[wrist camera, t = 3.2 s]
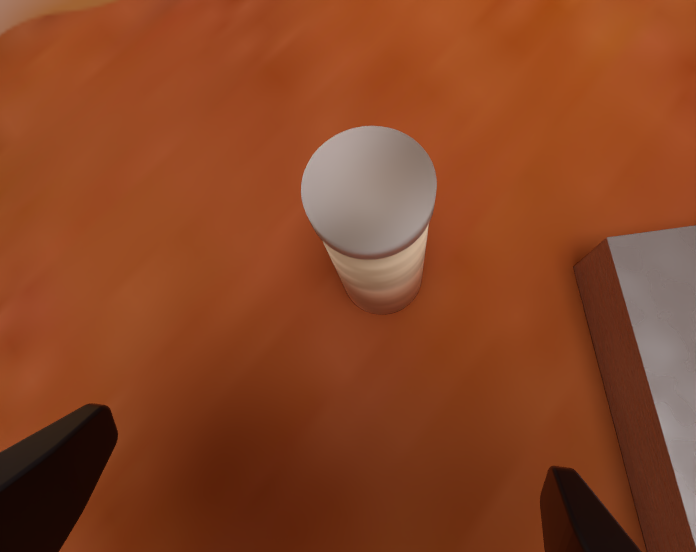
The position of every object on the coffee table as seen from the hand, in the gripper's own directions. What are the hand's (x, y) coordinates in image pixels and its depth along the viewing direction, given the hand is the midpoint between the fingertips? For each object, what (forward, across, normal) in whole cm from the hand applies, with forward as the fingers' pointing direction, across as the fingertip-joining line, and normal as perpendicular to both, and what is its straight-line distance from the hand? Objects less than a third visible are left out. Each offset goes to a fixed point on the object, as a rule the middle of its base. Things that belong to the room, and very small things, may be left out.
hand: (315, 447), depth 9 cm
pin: (+15, 0, +4) cm, 15 cm away
